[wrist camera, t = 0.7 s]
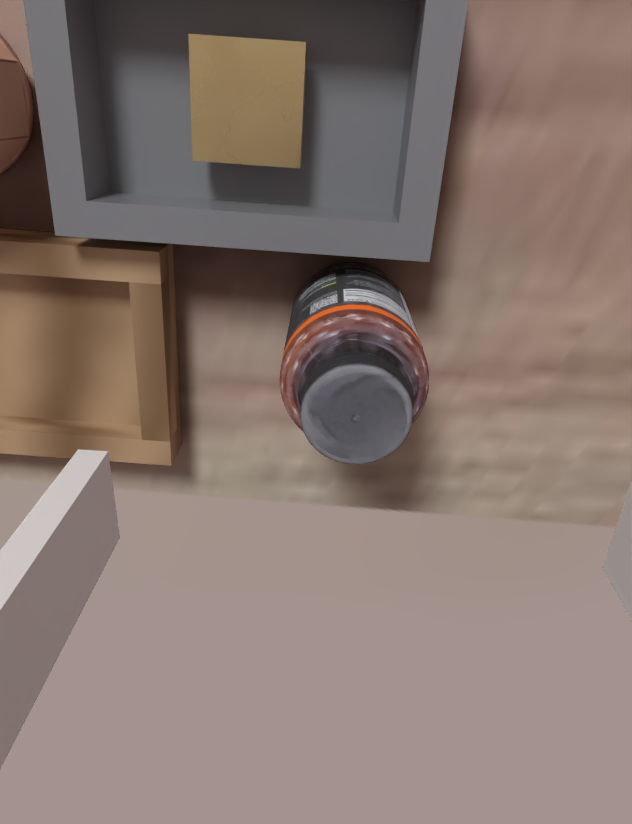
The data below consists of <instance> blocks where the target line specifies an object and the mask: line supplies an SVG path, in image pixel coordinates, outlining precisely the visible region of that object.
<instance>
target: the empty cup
mask: <svg viewBox="0 0 632 824" xmlns="http://www.w3.org/2000/svg"><path fill="white" fill-rule="evenodd" d="M33 120H34V108H33V98H32V93H31V88H30V85H29V82H28V79H27V76H26V74H25V71H24V69H23V67H22V65H21V63H20V61H19V59H18V57H17V56H16V54H15V52H14V51H13V50H12V48H11V47H10V45H9V44H8V43H7V41H6V40H5V39H4V38H3V37H2V36H1V34H0V173H2V172H4V171H6V170H7V169H8V168H10V167H11V166H12V165H14V164H15V163H16V162H17V160H18V159H19V158H20V157H21V155H22V154H23V153H24V151H25V149H26V147H27V145H28V143H29V140H30V137H31V134H32V128H33Z"/></svg>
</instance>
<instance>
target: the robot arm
mask: <svg viewBox="0 0 632 824" xmlns="http://www.w3.org/2000/svg"><path fill="white" fill-rule="evenodd" d="M119 538H120V535H119V528H118V520H117V514H116V506H115V498H114V491H113V483H112V476H111V468H110V461H109V454H108V451H96V450H79V449H78V450H77V452H76V453H75V454H74V455H73V457H72V458H71V459H70V461H69V462H68V463H67V465H66V466H65V467H64V468H63V470H62V471H61V472H60V474H59V475H58V476H57V478H56V479H55V480H54V481H53V483H52V484H51V485H50V487H49V488H48V489H47V491H46V492H45V493H44V495H43V496H42V497H41V498H40V500H39V501H38V502H37V504H36V505H35V506H34V507H33V509H32V510H31V511H30V513H29V514H28V515H27V517H26V518H25V520H23V522H22V523H21V525H20V526H19V527H18V528H17V530H16V531H15V532H14V534H13V535H12V536H11V537H10V539H9V540H8V541H7V543H6V544H5V545H4V547H3V548H2V549H1V550H0V768H1V766H2V765H3V763H4V761H5V759H6V757H7V755H8V753H9V751H10V749H11V747H12V745H13V743H14V741H15V739H16V737H17V736H18V734H19V732H20V730H21V728H22V726H23V724H24V722H25V720H26V718H27V716H28V714H29V712H30V710H31V708H32V707H33V705H34V703H35V701H36V699H37V697H38V695H39V693H40V691H41V689H42V687H43V685H44V683H45V681H46V679H47V677H48V676H49V673H50V672H51V670H52V668H53V666H54V664H55V662H56V660H57V658H58V656H59V654H60V652H61V650H62V648H63V647H64V645H65V643H66V641H67V639H68V637H69V635H70V633H71V631H72V629H73V627H74V625H75V623H76V621H77V619H78V617H79V616H80V614H81V612H82V610H83V608H84V606H85V604H86V602H87V600H88V598H89V596H90V594H91V592H92V590H93V589H94V586H95V585H96V583H97V581H98V579H99V577H100V575H101V573H102V571H103V569H104V567H105V565H106V563H107V561H108V559H109V558H110V556H111V553H112V552H113V550H114V548H115V546H116V544H117V542H118V540H119ZM602 568H603V569H604V571H605V573H606V575H607V577H608V578H609V580H610V582H611V584H612V586H613V588H614V589H615V591H616V593H617V595H618V596H619V598H620V600H621V602H622V604H623V606H624V607H625V609H626V611H627V612H628V614H629V616H630V618H631V620H632V482H631V484H630V487H629V490H628V493H627V496H626V499H625V502H624V505H623V508H622V511H621V514H620V516H619V519H618V522H617V525H616V528H615V531H614V534H613V537H612V540H611V543H610V546H609V549H608V552H607V555H606V558H605V560H604V563H603V566H602Z"/></svg>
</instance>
